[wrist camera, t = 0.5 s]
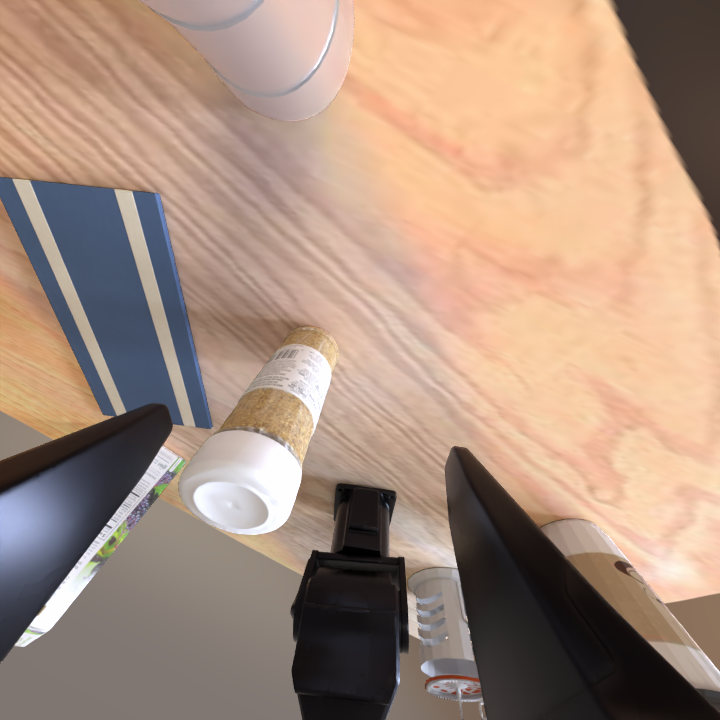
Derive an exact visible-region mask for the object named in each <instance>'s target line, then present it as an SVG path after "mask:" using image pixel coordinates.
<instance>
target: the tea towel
mask: <svg viewBox="0 0 720 720" xmlns="http://www.w3.org/2000/svg"><path fill="white" fill-rule="evenodd" d="M0 198H1V200H2V202H3V205H4V207H5V209H6V211H7V213H8V215H9V217H10V219H11V221H12V224H13V226H14V228H15V230H16V232H17V234H18V236H19V238H20V240H21V243H22V245H23V247H24V249H25V251H26V253H27V255H28V257H29V259H30V262H31V264H32V266H33V268H34V270H35V272H36V274H37V276H38V278H39V281H40V283H41V285H42V287H43V289H44V291H45V293H46V295H47V297H48V299H49V302H50V304H51V306H52V308H53V310H54V312H55V314H56V316H57V318H58V321H59V323H60V325H61V327H62V329H63V331H64V333H65V335H66V337H67V340H68V342H69V344H70V346H71V348H72V350H73V352H74V354H75V356H76V359H77V361H78V363H79V365H80V367H81V369H82V371H83V373H84V375H85V378H86V380H87V382H88V384H89V386H90V388H91V390H92V392H93V394H94V397H95V399H96V401H97V403H98V405H99V407H100V409H101V411H102V413H103V415H108V416H115V417H116V416H118V415H121V414H124V413H126V412H129V411H131V410H134V409H137V408H139V407H142V406H145V405H147V404H150V403H159V404H165V405H166V406H167V407H168V409H169V412H170V416H171V419H172V423H173V424H176V425H184V426H190V427H199V428H206V429H211V428H212V427H213V426H212V422H211V417H210V413H209V408H208V404H207V400H206V395H205V391H204V387H203V382H202V378H201V374H200V369H199V365H198V360H197V356H196V352H195V347H194V343H193V339H192V334H191V330H190V326H189V321H188V317H187V313H186V308H185V304H184V299H183V295H182V291H181V286H180V282H179V278H178V273H177V269H176V265H175V260H174V256H173V251H172V247H171V243H170V238H169V234H168V230H167V225H166V221H165V217H164V212H163V208H162V203H161V199H160V195H159V193H150V192H141V191H131V190H121V189H112V188H102V187H92V186H83V185H73V184H63V183H54V182H44V181H34V180H25V179H15V178H5V177H0Z"/></svg>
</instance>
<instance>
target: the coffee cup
mask: <svg viewBox="0 0 720 720" xmlns="http://www.w3.org/2000/svg"><path fill="white" fill-rule="evenodd" d="M540 529H541V530H542V531H543V532H544V533H545V534H546V535H547V537H548V538H549V539H550V540H551V541H552V542H553V543H554V544H555V545H556V546H557V548H558V549H559V550H560V551H561V552H562V553H563V554H564V555H565V559H568V560H569V561H570V562H571V563H572V564H573V565H574V566H575V567H576V568H577V569H578V570H579V571H580V573H581V574H582V575H583V576H584V577H585V578H586V579H587V580H588V581H589V582H590V583H591V584H592V585H593V586H594V588H595V589H596V590H597V591H598V592H599V593H600V594H601V595H602V596H603V597H604V598H605V599H606V600H607V601H608V602H609V603H610V604H611V605H612V606H613V607H614V608H615V609H616V610H617V611H618V612H619V613H620V614H621V615H622V616H623V617H624V618H625V619H626V620H627V621H628V622H629V623H630V624H631V625H632V626H633V627H634V628H635V630H637V631H638V632H639V633H640V634H641V635H642V636H643V637H644V638H645V639H646V640H647V641H648V642H649V643H650V644H651V645H652V646H653V647H654V648H655V649H656V650H657V651H658V652H659V653H660V654H661V655H662V656H663V657H664V658H665V659H666V660H667V661H668V662H669V663H670V664H671V665H672V666H673V667H674V668H675V669H676V670H677V671H678V672H679V673H680V674H681V675H682V676H683V677H684V678H685V679H686V680H687V681H688V682H689V683H691V684H692V685H693V686H694V687H695V688H696V689H697V690H698V691H699V692H700V693H701V694H702V695H703V696H704V697H705V698H706V699H707V700H708V701H709V702H710V703H711V704H712V705H713V706H714V707H715V708H716V709H717V710H718V711H719V712H720V672H719V671H718V669H717V668H716V667H715V666H714V664H713V663H712V662H711V661H710V660H709V658H708V657H707V656H706V655H705V654H704V652H703V651H702V650H701V649H700V647H699V646H698V645H697V644H696V642H695V641H694V640H693V639H692V638H691V636H690V635H689V634H688V633H687V631H686V630H685V629H684V628H683V627H682V625H681V624H680V623H679V622H678V621H677V619H676V618H675V617H674V616H673V614H672V613H671V612H670V611H669V609H668V608H667V607H666V606H665V605H664V603H663V602H662V601H661V600H660V598H659V597H658V596H657V595H656V594H655V592H654V591H653V590H652V589H651V587H650V586H649V585H648V584H647V583H646V581H645V580H644V579H643V578H642V576H641V575H640V574H639V573H638V572H637V570H636V569H635V568H634V567H633V565H632V564H631V563H630V562H629V561H628V559H627V558H626V557H625V556H624V554H623V553H622V552H621V551H620V550H619V548H618V547H617V546H616V545H615V543H614V542H613V541H612V540H611V539H610V537H609V536H608V535H607V534H606V533H605V532H603V531H602V530H601V529H600V528H599V527H598V526H597V525H596V524H594V523H592V522H589V521H586V520H580V519H565V520H560V521H555V522H552V523H549V524H547V525H545V526H543V527H542V528H540Z"/></svg>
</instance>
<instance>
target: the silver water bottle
mask: <svg viewBox="0 0 720 720" xmlns="http://www.w3.org/2000/svg"><path fill="white" fill-rule="evenodd" d="M139 1H141V2H142V3H144V4H145V5H147V6H148V7H149V8H150V9H151V10H153V11H154V12H155V13H157V14H158V15H159V16H161V17H162V18H163V19H165V20H166V21H168V22H169V23H170V24H171V25H172V26H173V27H174V28H175V29H176V30H177V31H178V32H179V33H180V34H181V35H182V36H183V37H184V38H185V39H186V40H187V41H188V42H189V43H190V44H191V45H192V46H193V47H194V48H195V49H196V50H197V51H198V52H199V53H200V54H201V55H202V56H203V57H204V59H205V60H206V61H207V63H208V64H209V66H210V67H211V69H212V70H213V71H214V72H215V74H216V75H217V76H218V77H219V79H220V80H221V81H222V82H223V83H224V85H225V86H226V87H227V88H228V89H229V90H230V91H231V92H232V94H233V95H234V96H235V97H236V98H237V99H239V100H240V101H241V102H242V103H243V104H244V105H245V106H246V107H248V108H250V109H251V110H253V111H255V112H256V113H258V114H260V115H262V116H265V117H268V118H271V119H276V120H282V121H293V122H294V121H301V120H306V119H308V118H310V117H313V116H315V115H317V114H318V113H320V112H321V111H322V110H324V109H325V108H326V107H327V106H328V105H329V104H330V103H331V101H332V100H333V99H334V98H335V97H336V95H337V93H338V92H339V90H340V88H341V86H342V85H343V82H344V79H345V77H346V74H347V71H348V68H349V63H350V58H351V53H352V46H353V37H354V19H355V17H354V4H353V0H139Z"/></svg>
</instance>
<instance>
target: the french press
mask: <svg viewBox="0 0 720 720" xmlns="http://www.w3.org/2000/svg"><path fill="white" fill-rule="evenodd" d="M408 588H409V589H410V590H411V591H412V592H413V593H414V595H415V596H416V600H417V602H418V603H417V612H418V613H419V615H420V616H419V615H417V619H418V624H419V626H420V627H421V629H420V628H418V633H419V637H420V639H421V641H422V644H421V643H420V642H419V648H420V661H421V670H422V671H423V672H424V673H426V674H427V675H429V676H432V677H431V678H430V679H428V680H426V684H425V689H426V690H427V691H428V692H429V693H430V694H431V695H435V696H437V697H438V696H439V698H440V696H441V698H443V697H444V699H445V698H447V699H448V698H449V699H452V700H453V699H455V701H456V700H457V699H458V702H459V707H460V714H461V720H463V714H462V707H461V702H463V700H464V702H465V701H467V702H468V701H470V702H471V701H473V702H474V701H479V700H480V702H479V712H480V717H481V719H482V720H487V718H486V717H485V718H483V715H482V709H481V705H482V704H484V702H483V699H482V698H483V697H482V692H481V687H480V681H479V676H478V671H477V666H476V663H475V662H473V661H474V658H473V655H474V650H473V647H471V642H470V641H472V640H471V634H469V631H468V628H469V624H468V621H467V620H466V616H467V614H466V608H465V603H464V598H463V593H462V588H461V582H460V577H459V572H458V570H457V569H453V568H432V569H425V570H422V571H420V572H418V573H415V574H413V575H412V576H411V578H410V579H409V580H408ZM444 617H445V618H444ZM445 637H448V639H446V638H445ZM475 699H476V700H475Z"/></svg>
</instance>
